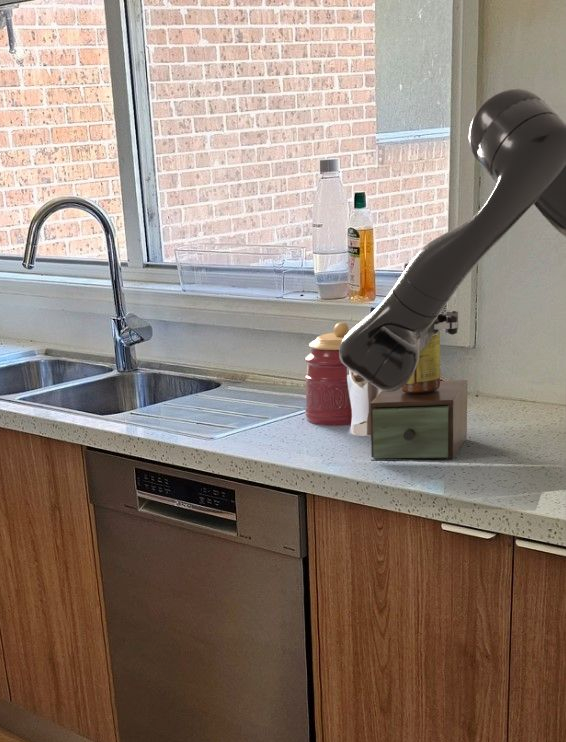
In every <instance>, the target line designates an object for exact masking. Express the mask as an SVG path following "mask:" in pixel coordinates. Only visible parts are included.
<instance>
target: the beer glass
mask: <svg viewBox="0 0 566 742" xmlns="http://www.w3.org/2000/svg"><path fill="white" fill-rule="evenodd" d="M346 379H347V389H348V395H349V401H350V407H351V423H350V425H349V428H348V434H349V435H352V436H359V437H360V436H361V437H371V410H370V403H371V402H372V401H373V400H374V399H375V398H376V397H377V396H378V394H379V393H380V392H381V391H382V390H380V389H378V388H377V387H375V386H374V385H372V384H371V382H370V383H369V382H368V381H366V380H365V379H364V378H362V377H361V376H359V375H358V374H356V373H355V372H353V371H352V370H350V369H349V368H348V367H347V369H346Z"/></svg>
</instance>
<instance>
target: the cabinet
mask: <svg viewBox="0 0 566 742" xmlns="http://www.w3.org/2000/svg"><path fill="white" fill-rule="evenodd" d="M438 405H448V406H449V456H448V457H440V458H414V459H416V460H417V459H419V460H420V459H421V460H423V459H424V460H450V461H453V460H454V459H455V458H456V456H457V454H458V453H459V451H460V450H461V448H462V446H463V445H464V444H465V442H466V440H467V439H468V379H457V380H440V387H439V388H438V389H437V390H435V391H431V392H425V393H405V392H403V391H402V389H401V388H400V389H398V390H395V391H391V392H388V391H383V390H382V391H381V392H380V393H379V394H378V396H377V397H376V398H375V399H374V400H373V401H372V402H371V403H370V410H371V436H370V444H371V445H370V448H371V449H370V450H371V451H370V452H371V453H370V455H371V461H372V462H408V460H403V459H374V451H373V409H377V408H382V407H410V406H438ZM372 458H373V459H372Z"/></svg>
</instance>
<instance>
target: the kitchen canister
mask: <svg viewBox="0 0 566 742" xmlns="http://www.w3.org/2000/svg"><path fill="white" fill-rule="evenodd" d="M349 331H350V327H349V325H348V324H347V323H346V322H342V321H341V322H338V323H336V324H335V325H334V328H333V332H330V333H329V332H328V333H324V334H320V335H318V336H317V337H316V339H314V340H312V341H311V342H310V343H309V344H308V346H309V348H310V349H311V351H310V352H309V353H308V354H306V355H305V356H304V361H305V363H306V364H307V370H306V374H305V375H304V379H305V407H304V410H305V413H304V415H305V418H306V419H305V420H306V422H308V423H310V424H314V425H319V426H331V427H332V426H350V423H351V407H350V401H349V395H348V389H347V379H346V369H347V367H346V366H345V365H344V364H343V363H342V362H341V360H340V357H339V348H340V345H341V342H342V340H343V338H344V337H345V336H346V334H347V333H348V332H349Z"/></svg>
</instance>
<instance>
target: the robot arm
mask: <svg viewBox="0 0 566 742" xmlns="http://www.w3.org/2000/svg"><path fill="white" fill-rule="evenodd" d="M468 143H469V144H468V145H469V149H470V150H471V153H472V155H473V158H474V159H475V160H476V162H477V163H478V165H480V166H481V167H482V168H483V169H484V171H485V172H486V173H487V174H488V175H489V176H490V177H491V178H492V180H493V181H494V182H495V183H496V184H495V186H494V188H493V190H492V192H491V194H490V195H489V197H488V198H487V200H486V202H485V203H484V205H483V206H482V207H481V208H480V209H479V210H478V211H477V212H476V213H475V214H474V215H473V216H472V217H471V218H468V220H466V221H464V222H463V223H462V224H460V225H457V226H456V227H454V228H452V229H450V230H448V231H446V232H445V233H443V234H441V235H439V236H438V237H436V238H434V239H432V240H430V241H429V242H428V243H426V244H425V245H424V246H423V247H422V248H420V250H418V251H417V253H416V254H415V255H414V256H413V257H412V259H411V260H410V261H409V262H410V263H409V264H408V266H407V267H406V269H405V270H403V272H402V273H401V274H400V276H399V277H398V280H397V281H396V282H395V283H394V286H393V287H392V289H391V290H390V291H389V292H388V294H387V295H386V296H385V298H384V299H383V300H382V301H381V303H379V304H378V305H377V307H376V308H374V309H373V310H372V311H371V312H370V313H369V314H367V315H366V316H365V317H364V318H363V319H361V320H360V321H359V322H358V323H357V324H356V325H355V326H353V327H352V328H351V329H349V332H348V333H347V334H346V336H345V337H344V338H343V340H342V342H341V345H340V348H339V357H340V360H341V362H342V363H343V364H344V365H345V366H346V367H348V368H349V369H350V370H352V371H353V372H355V373H356V374H358V375H359V376H361V377H362V378H364V379H365V380H366V381H368V382H369V383H370V382H371V384H372V385H374V386H375V387H377V388H378V389H380V390H383V391H388V392H391V391H395V390H398V389H400V388H401V387H403V386H404V385H405V384H406V383H407V382H408V381H409V379H410V378H411V377H412V375H413V373H414V372H415V369H416V367H417V364H418V360H419V353H420V352H421V351H422V350H423V349H424V348H425V347H426V346H427V345H428V343H429V342H430V340H431V337H432V336H433V335H436V334H438V332H439V330H440V331H442V330H443V331H444V330H445V333H446V334H448V335H453V336H454V335H455V334H458V330H459V311H456V310H452V311H447V309H446V308H445V307H446V306H447V304H448V303H449V302H450V300H451V299H452V297H453V296H454V295H455V293H456V292H457V290H458V289H459V287H460V286H461V285H462V283H463V282H464V280H465V279H466V278H467V277H468V275H470V273H471V272H472V271H473V269H474V268H475V267H476V266H477V265H478V264H479V263H480V262H481V260H482V259H483V258H484V257H485V256H486V255H487V254H488V253H489V252H490V251H491V250H493V248H494V247H495V245H497V244H498V242H500V240H502V238H504V237H505V236H506V234H508V232H509V231H511V229H513V228H514V226H515V225H516V224H517V223H518V222H519V221H520V220H521V219H522V218H523V216H524V215H525V214H526V213H527V212H528V211H529V210H530V209H531V208H532V207H533V206H534V207H535V208H536V209H537V210H538V212H539V213H540V214H541V215H542V216H543V217H544V218H545V220H546V221H547V222H548V223H549V224H550V225H551V226H552V227H553V228H554V229H555V230H556V231H558V232H559V233H560V234H561V235H562V236H564V238H566V122H565V121H564V119H563V118H562V117H560V116H559V115H558V114H557V113H556V112H555V110H553V109H552V108H551V107H550V105H548V104H547V103H546V102H545V100H544V99H543V98H541V97H540V96H539V95H537V94H536V93H535V92H532V91H530V90H527V89H523V88H522V89H521V88H509V89H507V90H506V89H505V90H503V91H500V92H498V93H495V94H494V95H493V96H490V97H489V98H487V100H485V101H484V102H483V103H482V104H481V105H480V106H479V107H478V109H477V110H476V112H475V114H474V116H473V118H472V121H471V123H470V126H469V131H468Z"/></svg>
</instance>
